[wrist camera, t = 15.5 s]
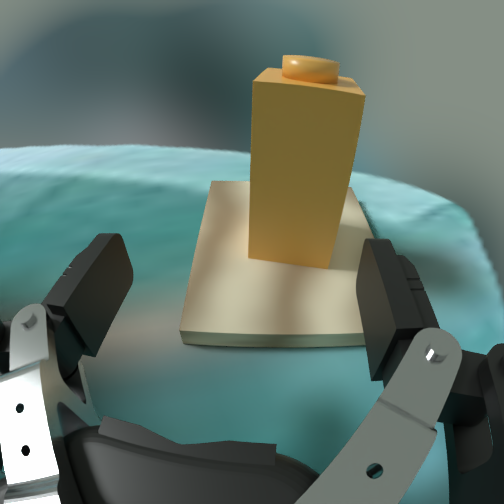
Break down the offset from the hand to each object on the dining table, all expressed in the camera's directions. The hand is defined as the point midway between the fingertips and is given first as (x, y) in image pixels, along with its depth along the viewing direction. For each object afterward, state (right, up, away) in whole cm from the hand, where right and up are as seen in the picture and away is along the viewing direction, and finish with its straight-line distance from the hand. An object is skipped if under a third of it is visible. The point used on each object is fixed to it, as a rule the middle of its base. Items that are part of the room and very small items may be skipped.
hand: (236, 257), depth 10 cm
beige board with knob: (+3, 0, +14) cm, 15 cm away
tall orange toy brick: (+4, +1, +13) cm, 14 cm away
